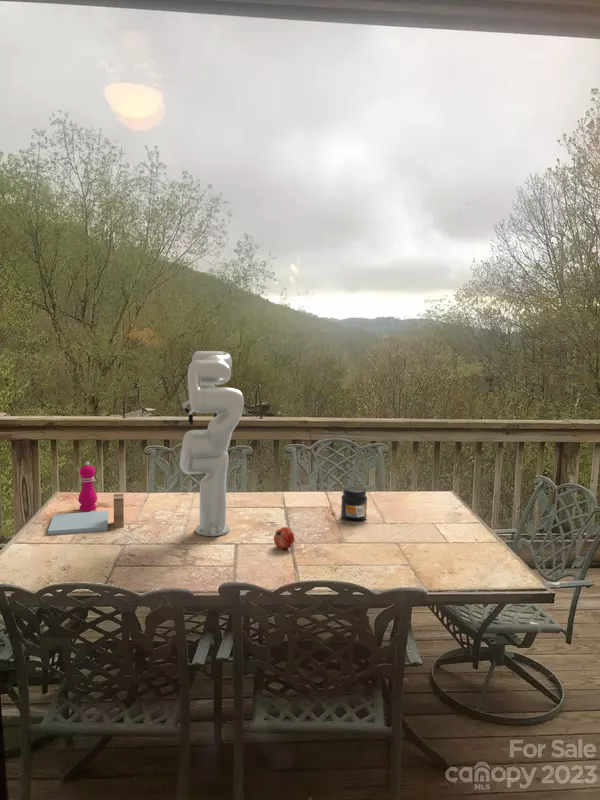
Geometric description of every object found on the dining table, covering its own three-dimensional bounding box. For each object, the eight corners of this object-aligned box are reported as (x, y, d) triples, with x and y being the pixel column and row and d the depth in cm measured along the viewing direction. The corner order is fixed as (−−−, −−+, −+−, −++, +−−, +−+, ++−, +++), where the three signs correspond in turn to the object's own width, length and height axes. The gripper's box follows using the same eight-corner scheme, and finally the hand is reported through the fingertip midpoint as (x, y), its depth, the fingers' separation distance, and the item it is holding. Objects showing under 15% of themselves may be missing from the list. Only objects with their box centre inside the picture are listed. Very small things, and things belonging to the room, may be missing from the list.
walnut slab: (123, 527, 205) (123, 498, 204) (113, 527, 204) (113, 499, 203) (123, 521, 212) (123, 493, 211) (113, 522, 211) (113, 494, 210)
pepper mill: (90, 505, 231) (90, 459, 229) (100, 509, 227) (100, 461, 225) (74, 509, 225) (74, 461, 223) (85, 513, 221) (84, 464, 219)
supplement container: (363, 523, 217) (364, 493, 216) (337, 519, 220) (338, 490, 219) (368, 515, 227) (370, 487, 226) (344, 512, 230) (345, 484, 229)
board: (107, 530, 201) (107, 526, 201) (47, 535, 195) (47, 531, 195) (108, 514, 220) (108, 510, 220) (53, 518, 214) (53, 514, 214)
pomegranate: (282, 549, 193) (263, 536, 188) (294, 531, 194) (276, 518, 189) (293, 558, 187) (274, 545, 182) (305, 540, 188) (287, 527, 183)
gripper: (182, 382, 215) (182, 425, 216) (226, 382, 220) (226, 424, 222) (180, 381, 222) (180, 423, 223) (223, 381, 227) (222, 422, 229)
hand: (203, 424), depth 223 cm, fingers open, 9 cm apart
